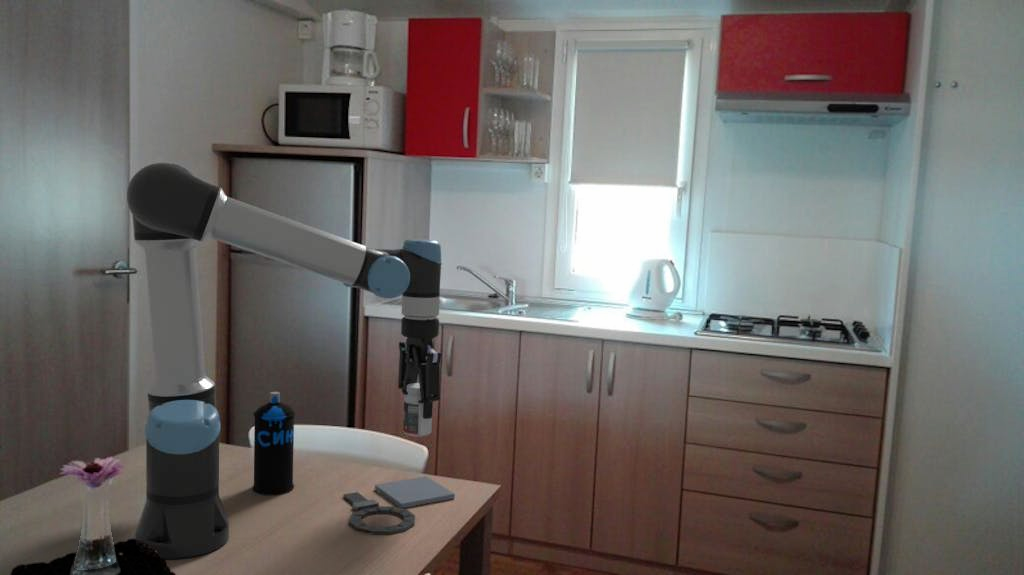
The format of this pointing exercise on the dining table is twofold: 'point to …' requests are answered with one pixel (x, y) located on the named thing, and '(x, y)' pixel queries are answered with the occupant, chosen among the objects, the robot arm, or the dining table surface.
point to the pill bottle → (412, 410)
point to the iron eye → (372, 507)
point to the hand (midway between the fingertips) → (417, 429)
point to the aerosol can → (273, 447)
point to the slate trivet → (414, 491)
